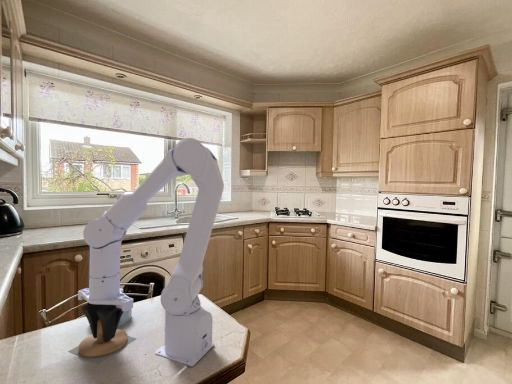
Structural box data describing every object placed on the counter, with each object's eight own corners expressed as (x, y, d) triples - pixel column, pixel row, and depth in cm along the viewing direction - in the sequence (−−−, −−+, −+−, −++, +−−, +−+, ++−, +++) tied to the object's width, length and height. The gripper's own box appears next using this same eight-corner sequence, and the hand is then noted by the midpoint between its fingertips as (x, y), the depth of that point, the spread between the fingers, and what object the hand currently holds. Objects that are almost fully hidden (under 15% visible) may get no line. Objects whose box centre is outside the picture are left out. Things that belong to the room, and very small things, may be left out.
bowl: (138, 317, 68) (138, 301, 68) (107, 334, 59) (107, 316, 59) (114, 310, 71) (114, 296, 71) (81, 326, 63) (82, 309, 63)
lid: (136, 338, 57) (137, 314, 57) (98, 362, 49) (98, 335, 49) (108, 329, 61) (108, 307, 61) (68, 350, 52) (68, 325, 52)
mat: (136, 340, 57) (136, 338, 57) (98, 365, 49) (98, 363, 49) (108, 331, 61) (108, 329, 61) (68, 353, 52) (68, 351, 52)
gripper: (145, 273, 56) (144, 335, 56) (99, 265, 61) (98, 321, 61) (116, 283, 49) (115, 354, 49) (68, 273, 55) (67, 337, 55)
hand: (104, 337), depth 55 cm, fingers closed on lid, 3 cm apart
